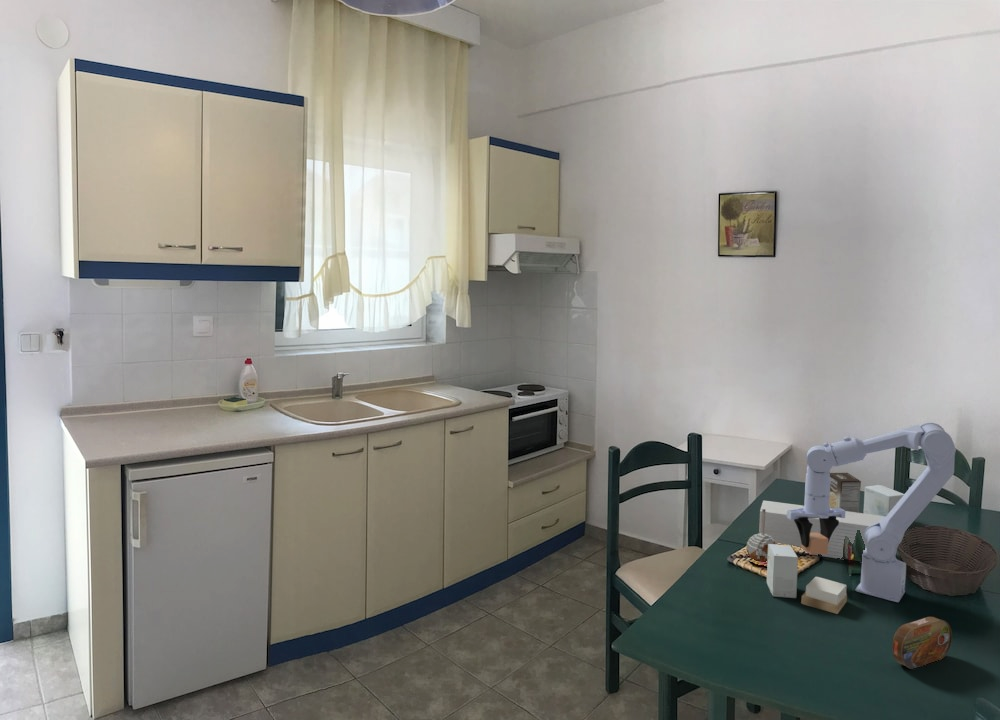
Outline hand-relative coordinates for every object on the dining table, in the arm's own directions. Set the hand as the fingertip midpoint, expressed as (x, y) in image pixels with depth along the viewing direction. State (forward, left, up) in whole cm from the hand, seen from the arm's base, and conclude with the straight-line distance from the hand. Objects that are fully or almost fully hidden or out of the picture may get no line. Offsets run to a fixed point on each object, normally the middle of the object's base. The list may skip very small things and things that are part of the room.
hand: (814, 545), depth 173 cm
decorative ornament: (+14, -3, -10) cm, 17 cm away
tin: (-28, +25, -10) cm, 39 cm away
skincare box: (-4, -60, -10) cm, 61 cm away
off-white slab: (-6, +11, -8) cm, 14 cm away
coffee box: (+5, -47, -10) cm, 48 cm away
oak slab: (-6, +11, -10) cm, 16 cm away
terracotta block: (0, 0, -2) cm, 2 cm away
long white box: (+5, -23, -10) cm, 26 cm away
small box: (+4, +11, -10) cm, 15 cm away
